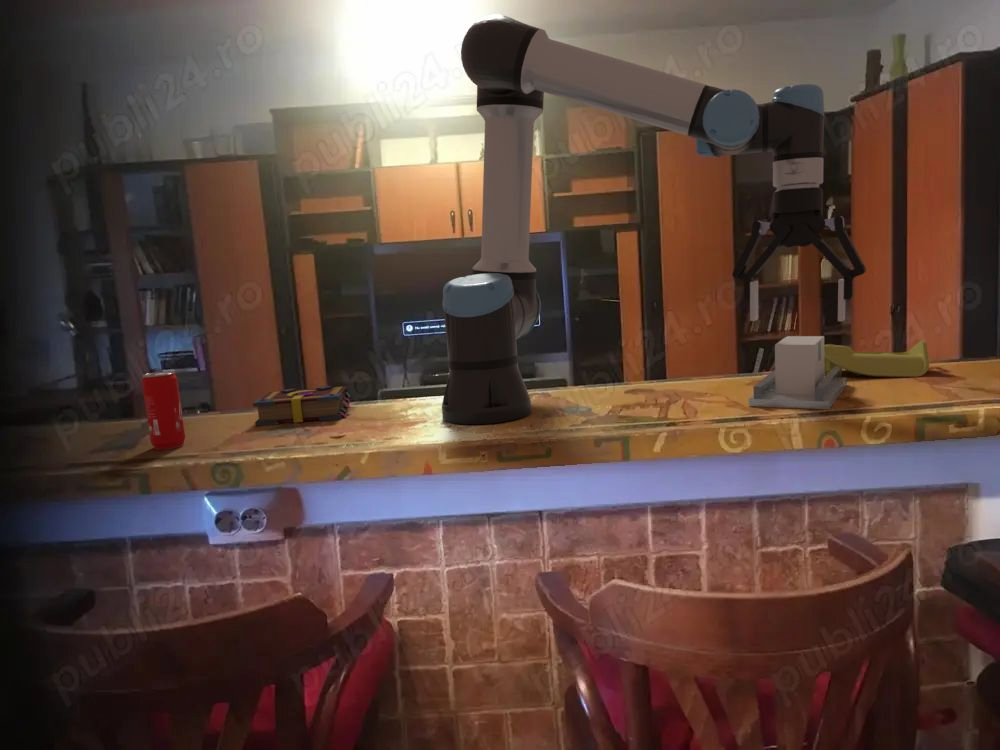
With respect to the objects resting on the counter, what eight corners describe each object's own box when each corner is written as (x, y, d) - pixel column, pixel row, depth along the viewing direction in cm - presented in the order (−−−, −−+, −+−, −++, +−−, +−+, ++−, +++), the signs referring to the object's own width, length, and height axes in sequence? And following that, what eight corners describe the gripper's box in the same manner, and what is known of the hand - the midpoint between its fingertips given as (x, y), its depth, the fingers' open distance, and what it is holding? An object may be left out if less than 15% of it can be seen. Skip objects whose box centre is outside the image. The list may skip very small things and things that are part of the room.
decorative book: (271, 414, 150) (268, 388, 149) (356, 407, 150) (353, 381, 149) (255, 427, 138) (252, 400, 138) (347, 420, 139) (344, 392, 138)
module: (775, 393, 128) (774, 344, 127) (787, 382, 137) (786, 336, 135) (815, 394, 125) (814, 344, 124) (824, 382, 134) (824, 336, 132)
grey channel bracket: (748, 406, 126) (748, 386, 125) (775, 382, 143) (774, 365, 142) (829, 409, 120) (829, 388, 119) (846, 384, 137) (846, 366, 136)
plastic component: (909, 353, 150) (928, 337, 140) (911, 391, 148) (930, 376, 138) (799, 351, 153) (811, 334, 144) (800, 387, 151) (812, 373, 142)
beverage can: (155, 444, 129) (144, 373, 127) (188, 440, 131) (178, 369, 129) (149, 452, 124) (137, 377, 122) (183, 448, 126) (173, 374, 124)
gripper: (713, 193, 129) (714, 322, 132) (881, 180, 116) (878, 323, 120) (725, 194, 135) (726, 317, 139) (886, 181, 122) (882, 317, 126)
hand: (796, 320), depth 129 cm, fingers open, 13 cm apart
